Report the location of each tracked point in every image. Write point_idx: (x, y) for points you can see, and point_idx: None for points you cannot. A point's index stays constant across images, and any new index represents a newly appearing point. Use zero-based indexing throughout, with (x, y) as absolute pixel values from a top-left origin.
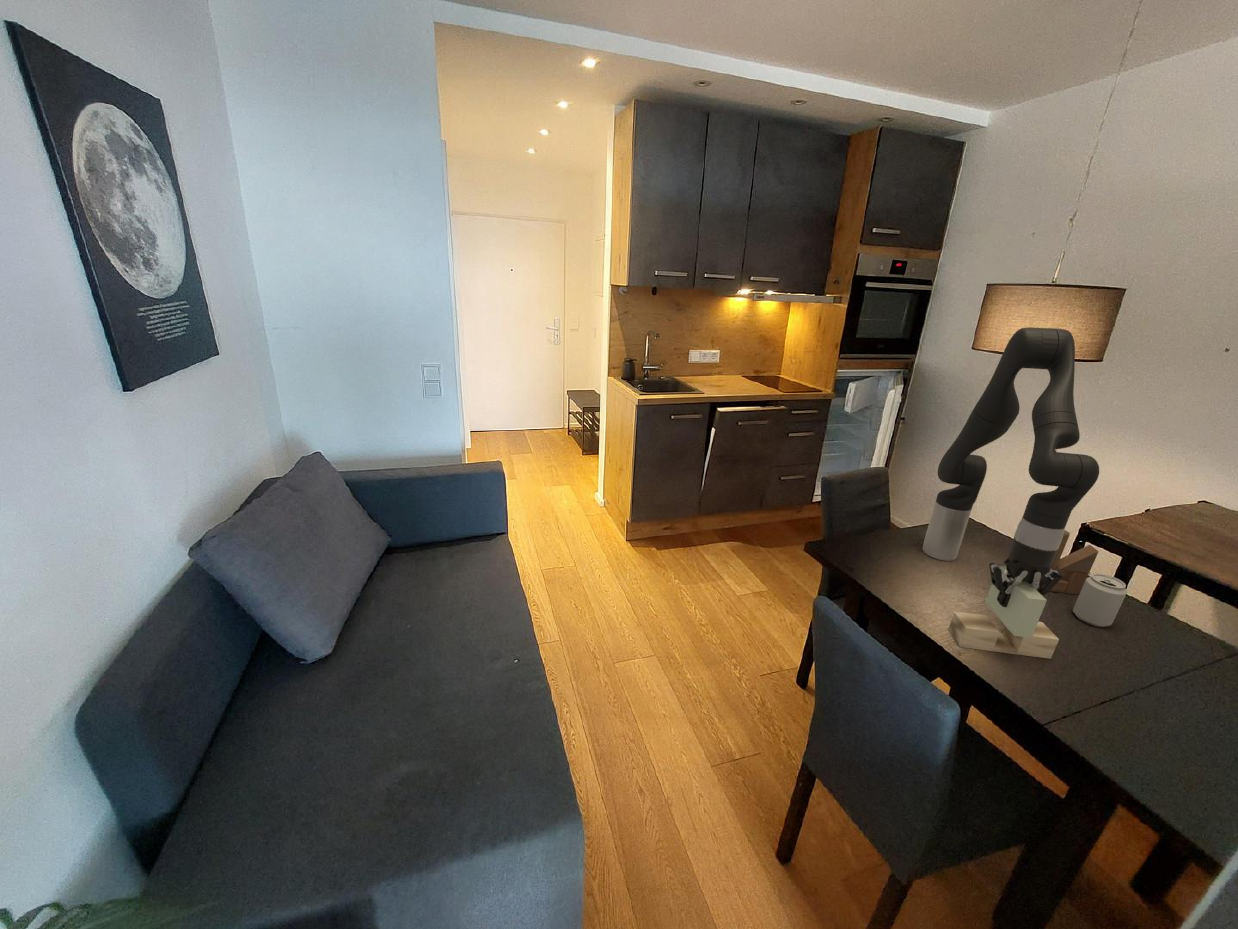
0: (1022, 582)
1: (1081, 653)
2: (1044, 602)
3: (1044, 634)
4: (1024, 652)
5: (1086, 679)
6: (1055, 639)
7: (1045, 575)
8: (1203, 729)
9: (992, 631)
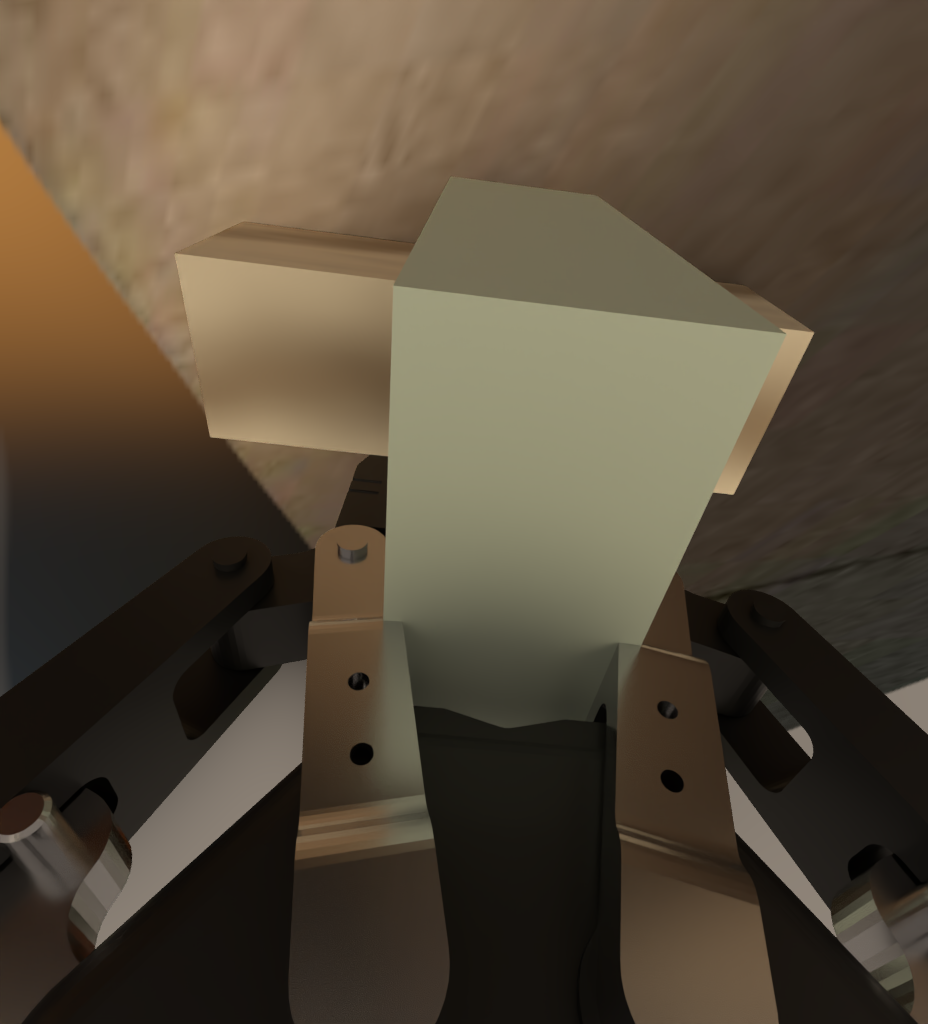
0: (524, 704)
1: (911, 373)
2: None
3: None
4: None
5: (722, 526)
6: (714, 491)
7: (860, 913)
8: (869, 671)
9: (367, 452)
